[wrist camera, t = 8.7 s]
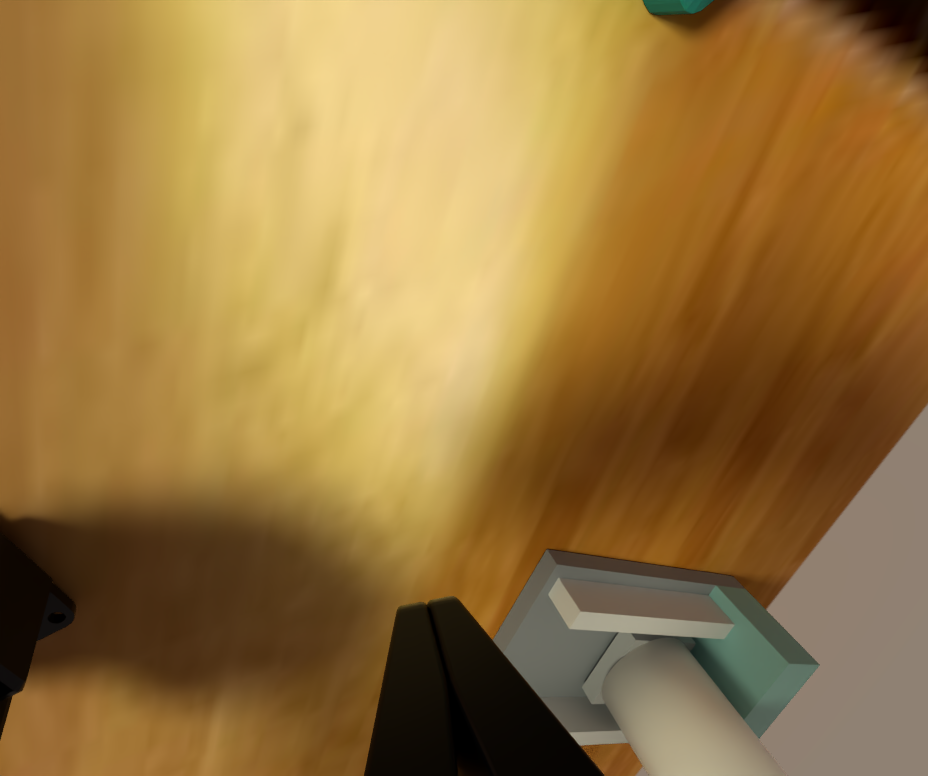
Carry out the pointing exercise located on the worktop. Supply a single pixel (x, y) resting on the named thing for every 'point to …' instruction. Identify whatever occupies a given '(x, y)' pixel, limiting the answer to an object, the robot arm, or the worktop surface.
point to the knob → (674, 710)
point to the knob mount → (645, 612)
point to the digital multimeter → (675, 6)
